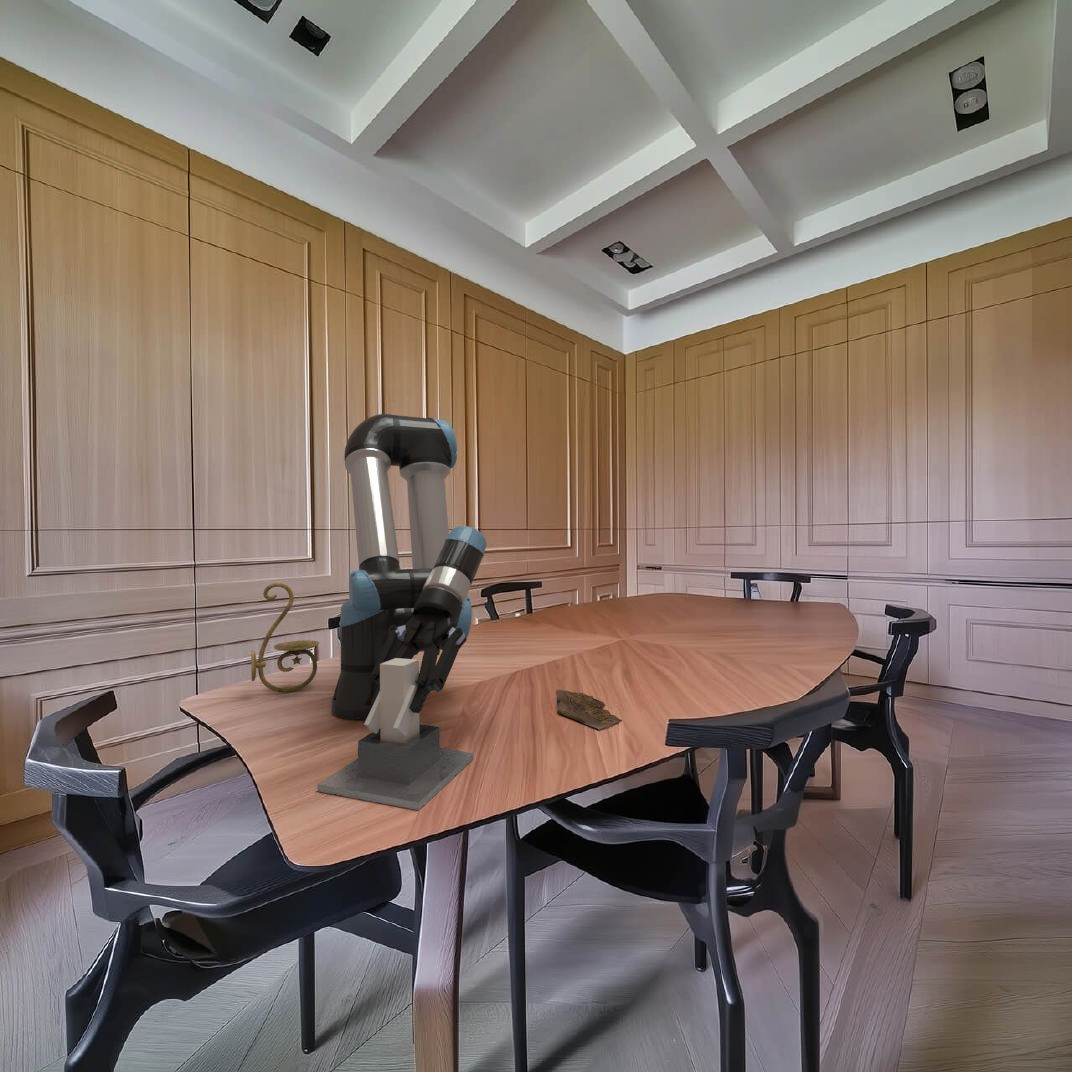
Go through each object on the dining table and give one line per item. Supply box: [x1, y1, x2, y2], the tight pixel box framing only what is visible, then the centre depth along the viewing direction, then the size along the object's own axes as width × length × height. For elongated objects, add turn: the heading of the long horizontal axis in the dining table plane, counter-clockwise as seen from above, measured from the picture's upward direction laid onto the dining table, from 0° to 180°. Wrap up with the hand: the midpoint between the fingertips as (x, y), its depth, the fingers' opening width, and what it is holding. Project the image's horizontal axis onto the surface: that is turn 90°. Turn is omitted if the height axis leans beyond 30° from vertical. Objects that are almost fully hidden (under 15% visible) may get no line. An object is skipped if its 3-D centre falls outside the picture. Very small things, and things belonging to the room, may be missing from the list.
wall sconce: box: [250, 582, 320, 693], centre depth 117 cm, size 14×10×25 cm
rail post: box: [380, 658, 420, 744], centre depth 76 cm, size 4×4×14 cm
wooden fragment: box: [556, 689, 623, 732], centre depth 105 cm, size 26×11×1 cm, turn 12°
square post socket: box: [316, 723, 474, 811], centre depth 76 cm, size 16×16×6 cm
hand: (385, 730), depth 73 cm, fingers closed on rail post, 4 cm apart
